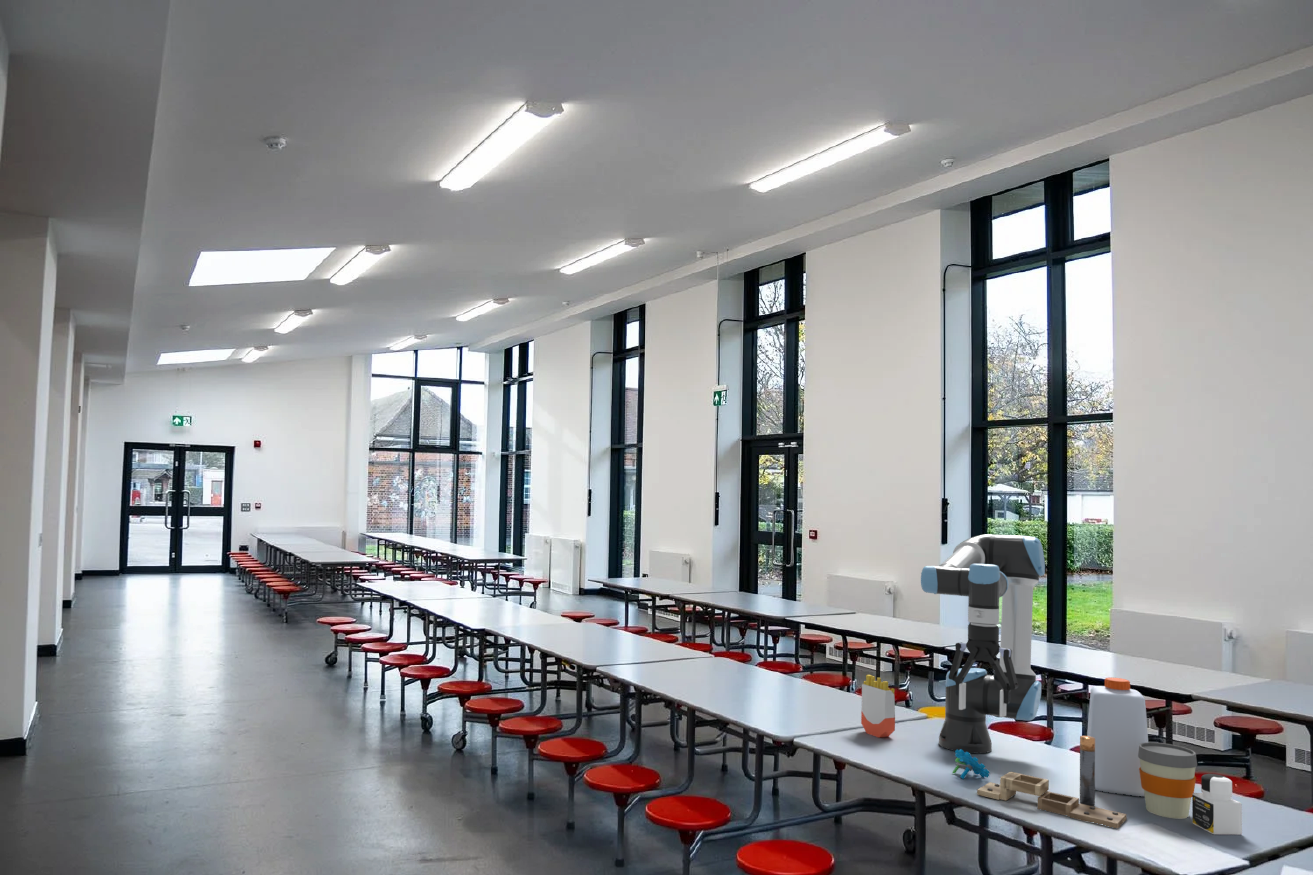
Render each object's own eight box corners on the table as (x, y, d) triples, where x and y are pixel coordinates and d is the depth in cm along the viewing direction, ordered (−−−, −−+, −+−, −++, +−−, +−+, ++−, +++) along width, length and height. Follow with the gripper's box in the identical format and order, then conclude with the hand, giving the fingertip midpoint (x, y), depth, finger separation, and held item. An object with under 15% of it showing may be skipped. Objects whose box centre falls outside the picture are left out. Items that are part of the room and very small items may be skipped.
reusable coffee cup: (1196, 825, 209) (1196, 759, 210) (1135, 813, 216) (1135, 749, 217) (1197, 810, 220) (1197, 748, 221) (1139, 800, 226) (1139, 739, 228)
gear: (998, 776, 236) (973, 749, 236) (985, 794, 234) (960, 766, 234) (972, 770, 246) (948, 744, 246) (960, 787, 244) (936, 760, 244)
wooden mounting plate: (1047, 800, 223) (1047, 790, 223) (1126, 819, 211) (1126, 807, 211) (1036, 809, 216) (1036, 798, 216) (1117, 828, 204) (1117, 817, 205)
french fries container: (871, 729, 288) (873, 672, 290) (895, 738, 279) (896, 679, 280) (860, 731, 286) (862, 673, 287) (884, 739, 276) (885, 680, 278)
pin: (1081, 800, 224) (1082, 734, 225) (1096, 803, 222) (1096, 737, 223) (1078, 803, 222) (1078, 737, 223) (1092, 806, 220) (1093, 739, 221)
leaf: (989, 786, 232) (990, 766, 232) (1049, 800, 222) (1049, 779, 223) (977, 794, 225) (977, 773, 225) (1038, 809, 215) (1038, 786, 216)
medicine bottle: (1191, 823, 210) (1191, 771, 211) (1220, 823, 211) (1220, 771, 212) (1213, 834, 203) (1212, 780, 204) (1242, 835, 204) (1242, 780, 205)
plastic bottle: (1088, 791, 232) (1088, 681, 234) (1082, 775, 246) (1083, 671, 248) (1154, 799, 227) (1154, 687, 229) (1144, 783, 241) (1144, 677, 243)
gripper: (935, 620, 236) (934, 706, 234) (1023, 630, 222) (1022, 722, 220) (946, 618, 242) (945, 702, 240) (1033, 628, 227) (1032, 718, 226)
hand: (982, 712), depth 230 cm, fingers open, 10 cm apart
